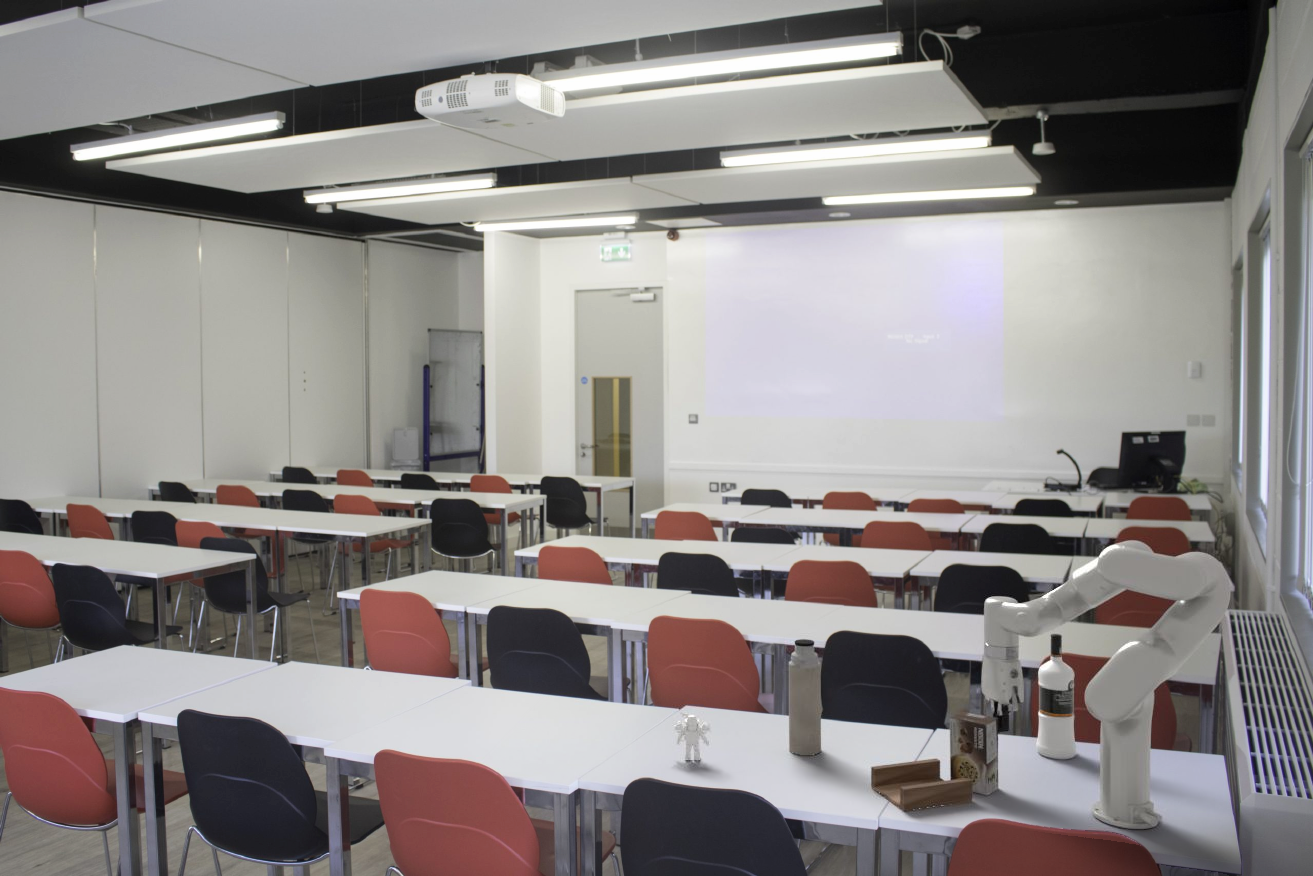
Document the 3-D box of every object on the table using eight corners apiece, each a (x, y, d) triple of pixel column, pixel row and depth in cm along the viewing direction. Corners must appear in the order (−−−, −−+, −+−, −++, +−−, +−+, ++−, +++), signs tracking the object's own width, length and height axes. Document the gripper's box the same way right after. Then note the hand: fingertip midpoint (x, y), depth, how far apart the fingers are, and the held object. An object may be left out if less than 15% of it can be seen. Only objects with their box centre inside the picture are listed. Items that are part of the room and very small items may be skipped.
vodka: (1051, 745, 250) (1051, 628, 249) (1084, 755, 242) (1084, 635, 241) (1028, 752, 245) (1028, 633, 244) (1061, 763, 237) (1061, 640, 236)
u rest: (972, 801, 214) (972, 780, 214) (903, 811, 209) (903, 789, 209) (936, 779, 228) (936, 758, 228) (871, 787, 223) (871, 766, 223)
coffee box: (999, 788, 222) (999, 717, 221) (987, 796, 217) (987, 724, 217) (961, 778, 228) (961, 709, 228) (948, 786, 223) (948, 716, 223)
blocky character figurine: (673, 761, 241) (673, 713, 241) (676, 755, 245) (675, 708, 244) (710, 763, 239) (709, 714, 239) (711, 757, 243) (711, 709, 243)
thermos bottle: (797, 743, 253) (796, 635, 252) (825, 748, 249) (825, 639, 248) (783, 752, 246) (783, 642, 246) (813, 758, 242) (812, 645, 241)
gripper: (1036, 658, 218) (1035, 739, 218) (995, 642, 232) (995, 719, 233) (1007, 660, 216) (1007, 743, 216) (967, 645, 230) (967, 722, 230)
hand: (1000, 730), depth 224 cm, fingers closed
